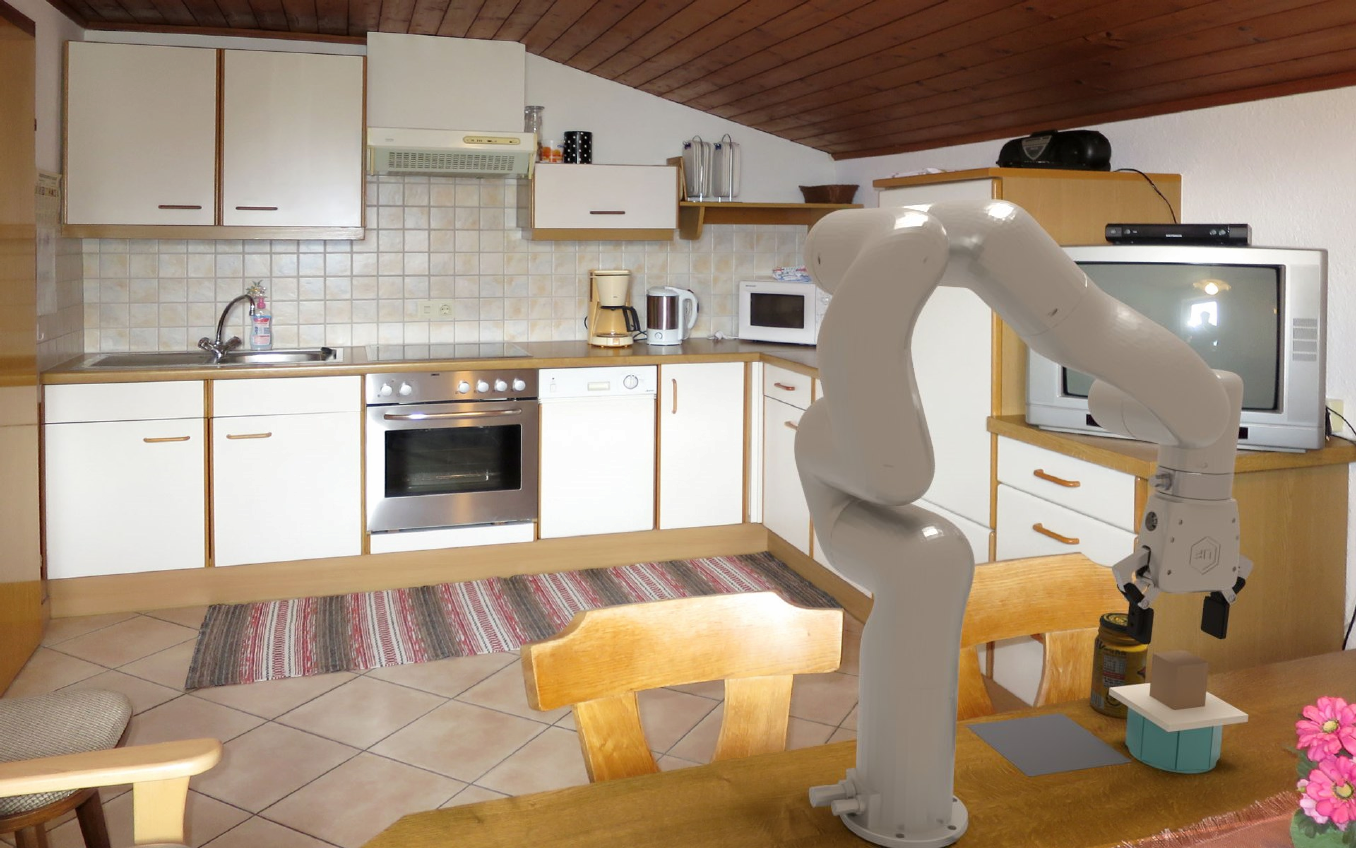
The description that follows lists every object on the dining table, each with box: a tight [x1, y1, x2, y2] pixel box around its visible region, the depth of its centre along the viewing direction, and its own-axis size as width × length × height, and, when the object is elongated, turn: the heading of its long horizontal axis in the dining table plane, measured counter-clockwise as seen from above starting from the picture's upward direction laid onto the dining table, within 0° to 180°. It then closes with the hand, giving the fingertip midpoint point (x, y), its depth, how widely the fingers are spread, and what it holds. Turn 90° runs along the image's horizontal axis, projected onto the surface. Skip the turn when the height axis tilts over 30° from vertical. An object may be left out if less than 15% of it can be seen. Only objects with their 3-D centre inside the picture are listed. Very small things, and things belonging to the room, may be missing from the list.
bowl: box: [1125, 707, 1224, 774], centre depth 123 cm, size 9×9×6 cm
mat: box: [965, 712, 1133, 778], centre depth 126 cm, size 13×13×1 cm
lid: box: [1109, 649, 1249, 732], centre depth 122 cm, size 10×10×6 cm
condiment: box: [1089, 612, 1149, 719], centre depth 134 cm, size 7×8×12 cm
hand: (1175, 637), depth 121 cm, fingers open, 9 cm apart
